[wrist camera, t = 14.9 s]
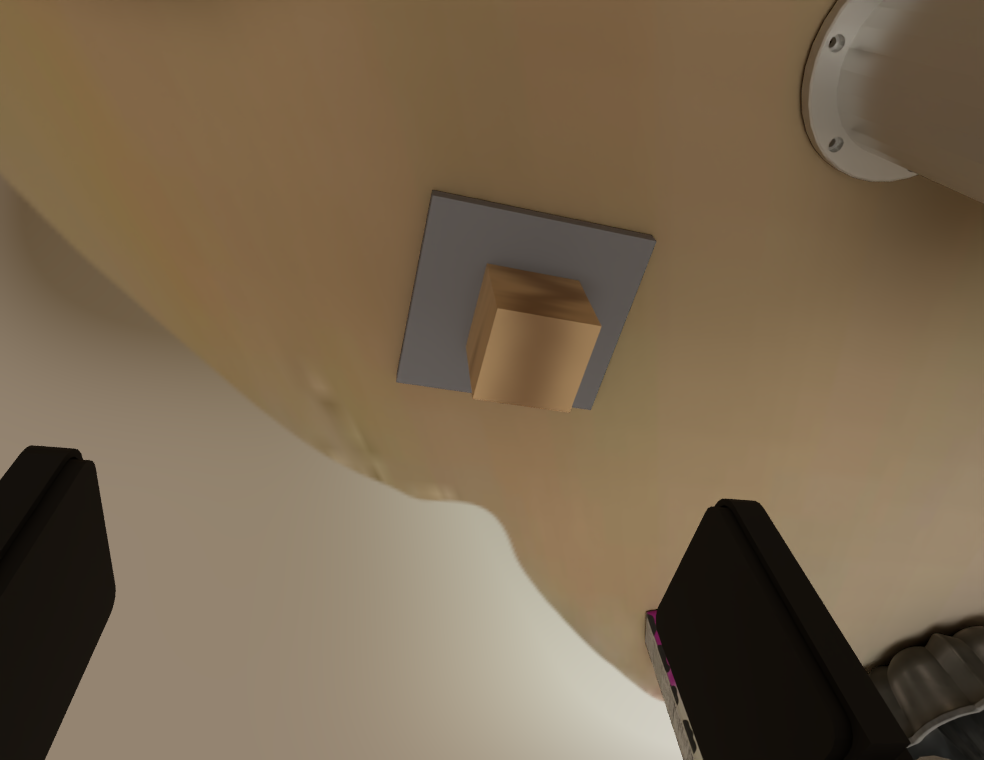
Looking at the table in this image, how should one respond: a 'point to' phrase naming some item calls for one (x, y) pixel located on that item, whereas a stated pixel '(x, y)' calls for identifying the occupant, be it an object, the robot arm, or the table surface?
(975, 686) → the bundt pan
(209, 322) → the table surface
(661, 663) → the candy bar box
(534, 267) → the charcoal mat
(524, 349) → the oak cube
